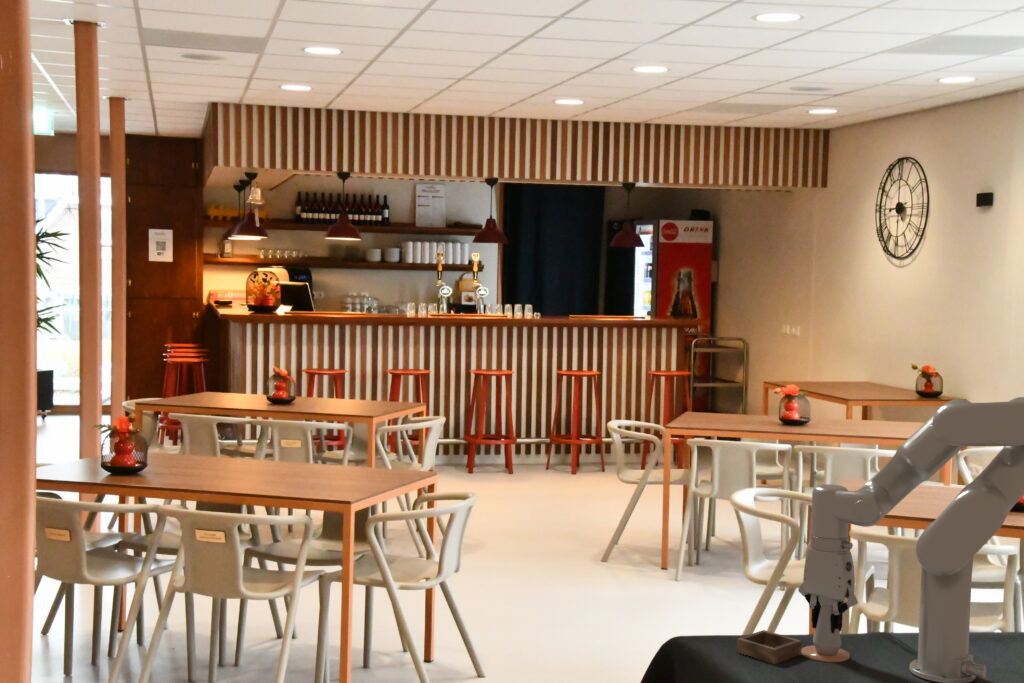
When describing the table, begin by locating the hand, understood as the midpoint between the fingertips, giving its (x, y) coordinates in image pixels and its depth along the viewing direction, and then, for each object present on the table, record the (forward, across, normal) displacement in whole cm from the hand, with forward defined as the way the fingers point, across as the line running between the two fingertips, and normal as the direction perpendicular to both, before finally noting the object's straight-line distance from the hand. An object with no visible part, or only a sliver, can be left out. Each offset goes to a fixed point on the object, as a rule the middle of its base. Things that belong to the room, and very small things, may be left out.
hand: (826, 628), depth 241 cm
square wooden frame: (+6, +8, +9) cm, 13 cm away
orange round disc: (+6, 0, 0) cm, 6 cm away
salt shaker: (+5, 0, 0) cm, 5 cm away
